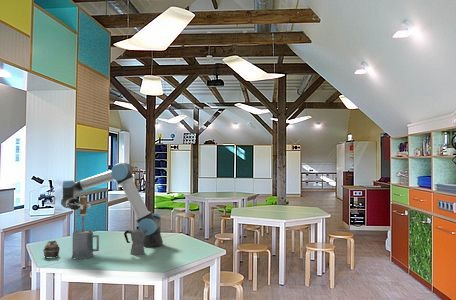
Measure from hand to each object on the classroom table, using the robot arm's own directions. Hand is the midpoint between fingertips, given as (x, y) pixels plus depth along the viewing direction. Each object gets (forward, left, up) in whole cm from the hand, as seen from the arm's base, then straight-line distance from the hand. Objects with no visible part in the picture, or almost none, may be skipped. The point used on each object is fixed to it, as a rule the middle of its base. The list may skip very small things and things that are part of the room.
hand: (86, 206), depth 246 cm
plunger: (+5, -2, -17) cm, 18 cm away
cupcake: (+23, +7, -33) cm, 41 cm away
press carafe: (+4, -2, -32) cm, 33 cm away
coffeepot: (-21, -23, -33) cm, 45 cm away
